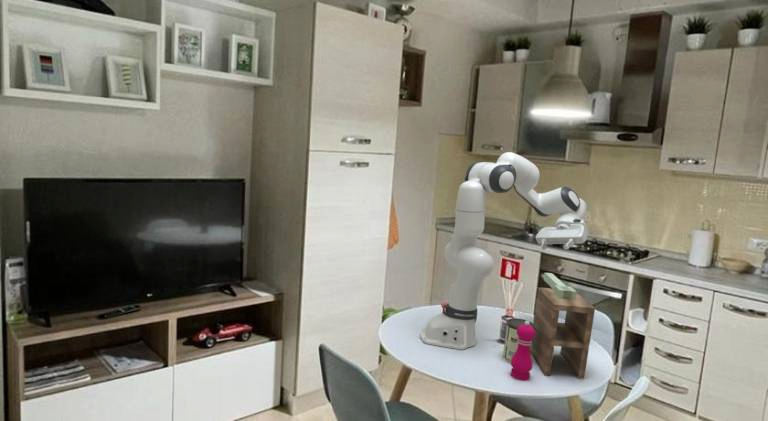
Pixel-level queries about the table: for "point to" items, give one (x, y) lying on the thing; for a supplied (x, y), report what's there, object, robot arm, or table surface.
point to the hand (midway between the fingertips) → (554, 248)
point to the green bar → (559, 287)
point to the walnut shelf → (562, 331)
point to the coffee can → (513, 338)
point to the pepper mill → (523, 352)
